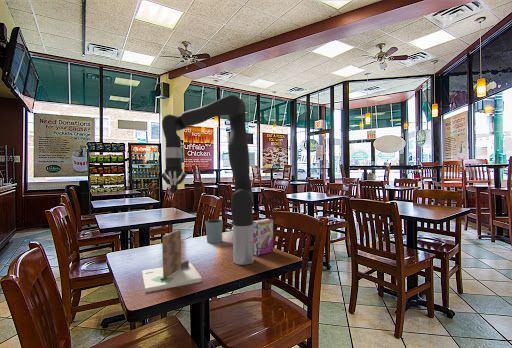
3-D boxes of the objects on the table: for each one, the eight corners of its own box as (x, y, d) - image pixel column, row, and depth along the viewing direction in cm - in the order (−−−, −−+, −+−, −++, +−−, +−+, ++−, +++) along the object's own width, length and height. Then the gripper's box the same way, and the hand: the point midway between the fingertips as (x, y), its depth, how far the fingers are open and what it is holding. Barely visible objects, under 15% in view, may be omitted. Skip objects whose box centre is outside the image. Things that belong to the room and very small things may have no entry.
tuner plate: (190, 266, 124) (190, 262, 124) (201, 281, 107) (201, 277, 107) (141, 274, 115) (141, 270, 115) (145, 292, 98) (145, 288, 98)
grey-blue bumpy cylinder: (209, 244, 156) (208, 223, 156) (203, 240, 165) (202, 220, 165) (225, 242, 161) (225, 221, 161) (219, 238, 170) (219, 218, 169)
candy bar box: (257, 256, 135) (256, 222, 135) (250, 254, 139) (250, 221, 138) (274, 251, 143) (273, 219, 142) (267, 249, 146) (266, 218, 146)
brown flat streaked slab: (181, 264, 121) (180, 227, 121) (190, 265, 120) (189, 227, 119) (156, 279, 105) (155, 237, 104) (166, 281, 103) (165, 237, 103)
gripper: (156, 157, 132) (157, 193, 133) (184, 156, 131) (185, 193, 132) (163, 157, 140) (164, 192, 140) (189, 157, 139) (190, 192, 139)
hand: (174, 192), depth 136 cm, fingers closed
